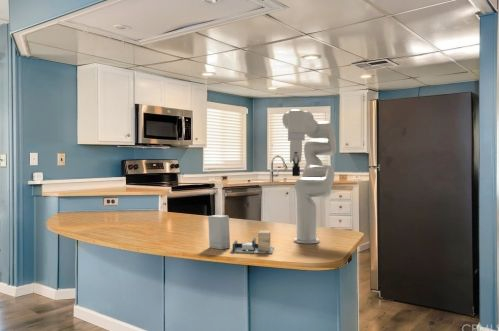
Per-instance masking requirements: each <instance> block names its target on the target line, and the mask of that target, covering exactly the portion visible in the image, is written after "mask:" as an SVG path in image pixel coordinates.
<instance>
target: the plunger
mask: <svg viewBox="0 0 499 331" xmlns="http://www.w3.org/2000/svg"><path fill="white" fill-rule="evenodd" d="M251 240H252V241H251V242H250V241H249V242H248V241H247V242H245V241H244V242H243V244H242V250H246V251H248V250H254V248H255V245H256V244H257V237H253V239H251Z"/></svg>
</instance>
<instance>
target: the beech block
mask: <svg viewBox="0 0 499 331" xmlns="http://www.w3.org/2000/svg"><path fill="white" fill-rule="evenodd" d="M257 244H258V251H270V247H271V231H270V230H259V231H258V232H257Z"/></svg>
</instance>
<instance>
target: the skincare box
mask: <svg viewBox="0 0 499 331" xmlns="http://www.w3.org/2000/svg"><path fill="white" fill-rule="evenodd" d="M229 219H230V217H229V215H227V214H225V215H222V214H214V215H208V220H207V221H208V223H207V224H208V242H209V244H208V246H209V248H211V249H217V250H225V249H230V247H231V239H230V220H229Z"/></svg>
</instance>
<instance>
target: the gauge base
mask: <svg viewBox="0 0 499 331" xmlns="http://www.w3.org/2000/svg"><path fill="white" fill-rule="evenodd" d="M243 243H244V242H243ZM243 243H242V242H241V243H239V242H238V240H234V241H233V242H232V249H231V251H230V254H251V255H252V254H255V255H257V254H258V255H273V254H274V253H273V252H274V249H275V246H272V247H271V246H270V251H258V243H256V245H255V248H254V250H248V251H246V250H242V244H243Z"/></svg>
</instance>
